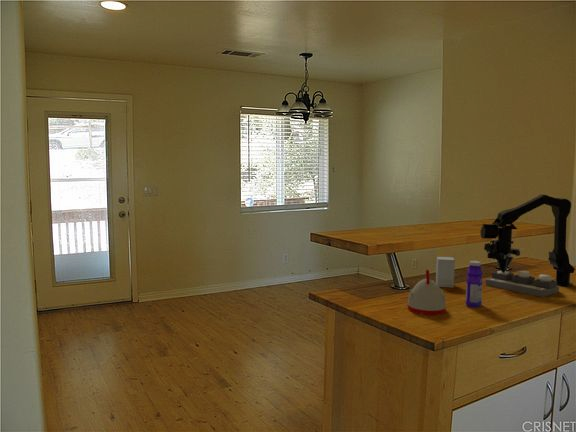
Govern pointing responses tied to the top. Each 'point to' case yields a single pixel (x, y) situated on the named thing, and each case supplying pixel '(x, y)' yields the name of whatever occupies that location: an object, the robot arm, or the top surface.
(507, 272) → the button
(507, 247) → the robot arm
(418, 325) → the top surface
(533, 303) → the top surface
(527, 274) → the button mid
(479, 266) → the bottle
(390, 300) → the top surface
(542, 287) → the button board
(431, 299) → the grey dome
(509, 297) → the top surface
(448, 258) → the supplement box
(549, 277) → the button end
